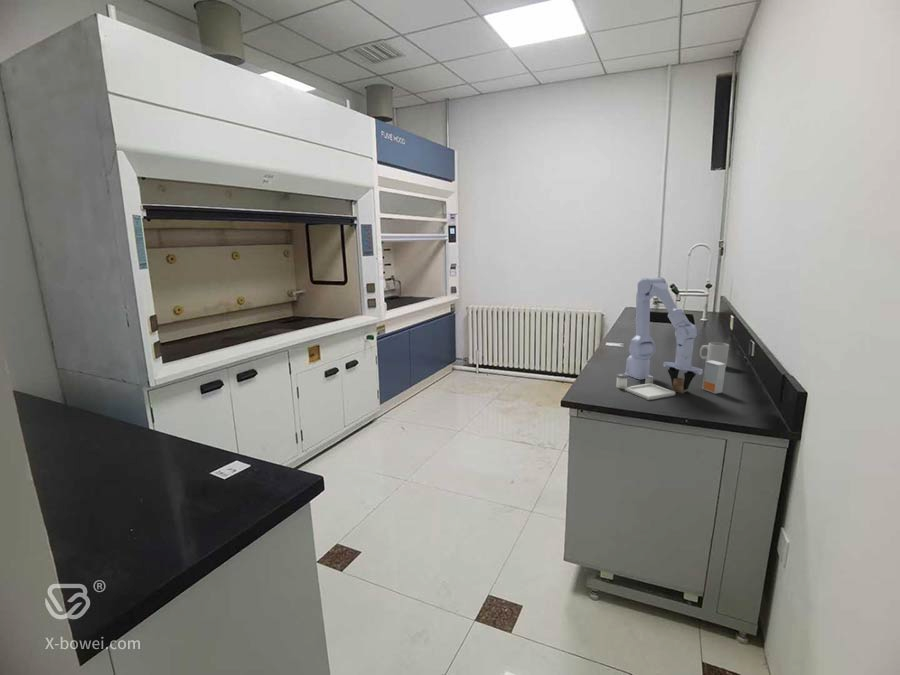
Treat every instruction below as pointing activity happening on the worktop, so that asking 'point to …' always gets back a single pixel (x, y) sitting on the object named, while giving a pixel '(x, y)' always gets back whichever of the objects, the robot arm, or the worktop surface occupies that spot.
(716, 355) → the mug
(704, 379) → the skincare box
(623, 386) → the sample jar
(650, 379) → the rubber stopper
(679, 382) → the walnut block
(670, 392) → the tray
